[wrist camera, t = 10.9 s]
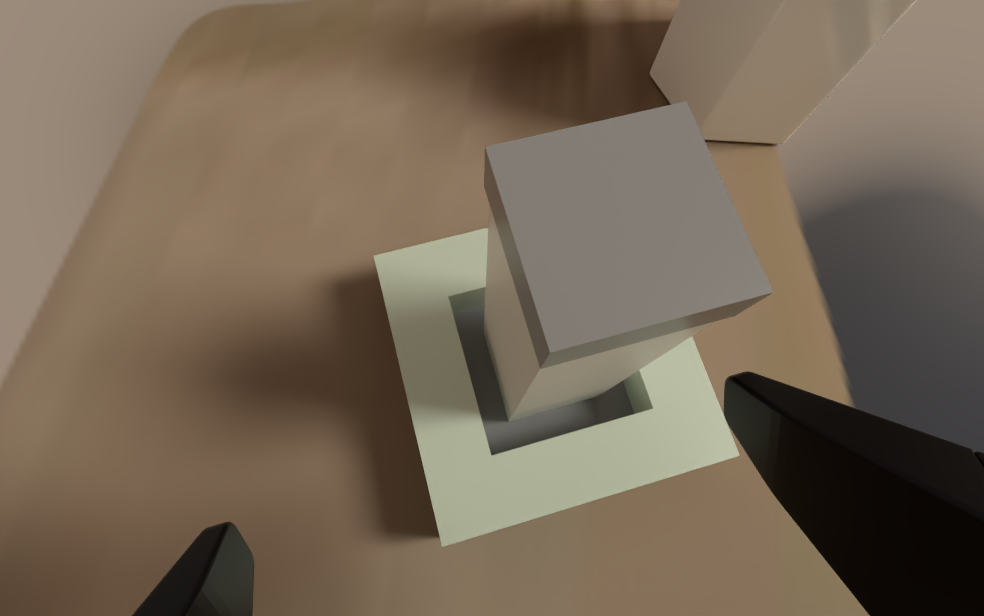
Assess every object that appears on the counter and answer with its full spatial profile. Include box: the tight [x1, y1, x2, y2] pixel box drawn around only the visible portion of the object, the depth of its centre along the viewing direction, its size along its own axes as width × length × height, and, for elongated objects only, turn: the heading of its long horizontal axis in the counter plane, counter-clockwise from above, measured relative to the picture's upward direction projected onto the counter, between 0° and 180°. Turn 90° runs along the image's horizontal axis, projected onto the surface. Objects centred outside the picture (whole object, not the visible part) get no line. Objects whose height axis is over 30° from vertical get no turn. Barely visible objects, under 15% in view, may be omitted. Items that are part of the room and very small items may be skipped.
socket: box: [374, 228, 740, 547], centre depth 22 cm, size 11×11×3 cm
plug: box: [484, 101, 773, 421], centre depth 17 cm, size 4×4×14 cm
